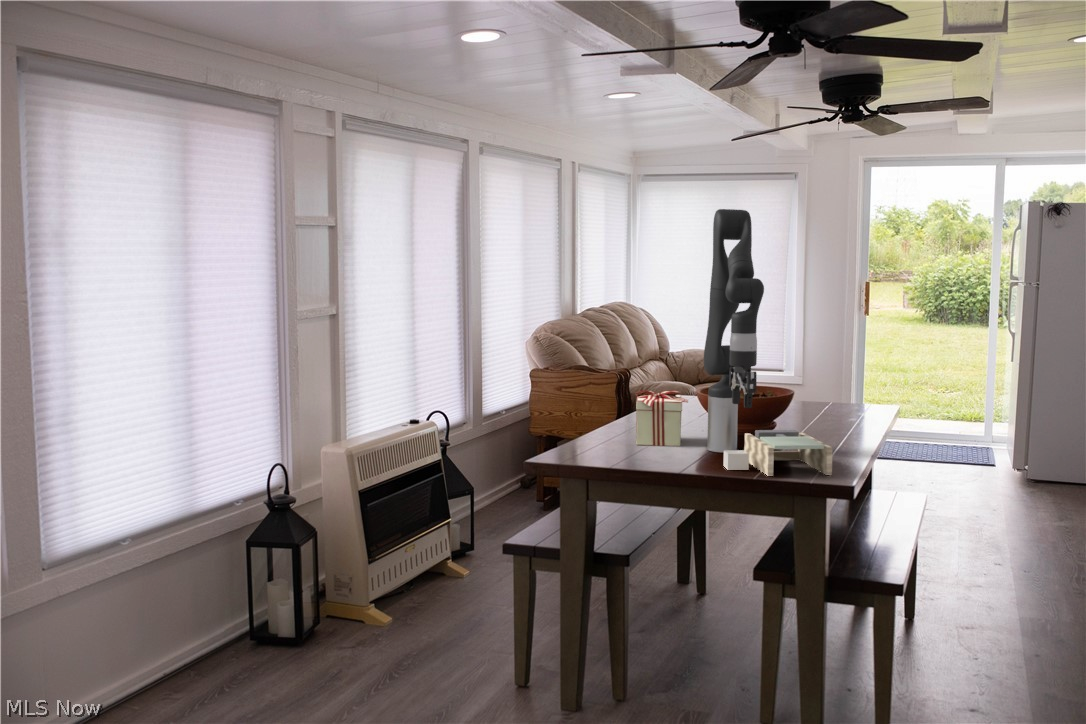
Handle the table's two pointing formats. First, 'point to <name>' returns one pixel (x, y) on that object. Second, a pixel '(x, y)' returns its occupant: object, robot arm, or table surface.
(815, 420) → the table surface
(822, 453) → the stand
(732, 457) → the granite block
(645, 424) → the gift box
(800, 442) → the trapdoor
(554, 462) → the table surface
